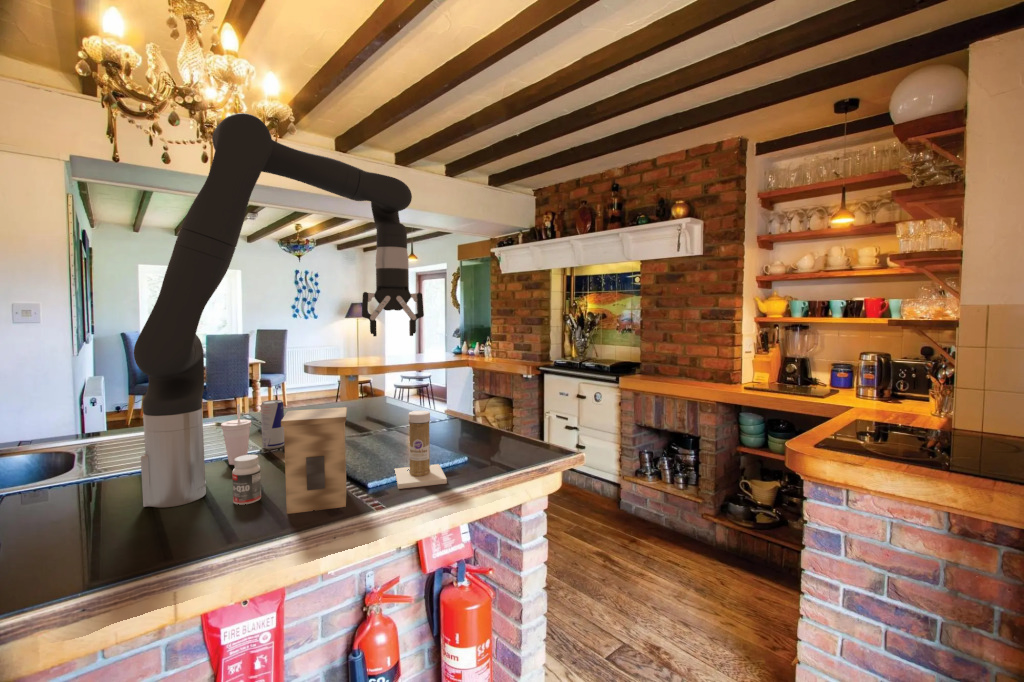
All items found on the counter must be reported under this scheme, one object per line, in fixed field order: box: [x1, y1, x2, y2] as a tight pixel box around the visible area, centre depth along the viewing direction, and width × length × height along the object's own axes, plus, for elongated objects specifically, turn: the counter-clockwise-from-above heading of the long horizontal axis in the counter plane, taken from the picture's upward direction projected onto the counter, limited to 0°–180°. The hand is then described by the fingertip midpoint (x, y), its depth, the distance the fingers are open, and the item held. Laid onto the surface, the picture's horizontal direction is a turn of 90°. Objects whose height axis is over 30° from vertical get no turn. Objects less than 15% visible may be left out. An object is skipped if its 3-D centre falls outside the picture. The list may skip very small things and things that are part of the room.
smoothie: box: [220, 403, 252, 466], centre depth 114 cm, size 6×6×14 cm
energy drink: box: [260, 399, 285, 450], centre depth 128 cm, size 5×5×12 cm
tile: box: [393, 463, 448, 490], centre depth 104 cm, size 10×10×1 cm
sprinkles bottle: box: [408, 410, 431, 476], centre depth 104 cm, size 5×5×14 cm
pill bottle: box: [231, 454, 262, 506], centre depth 92 cm, size 5×5×8 cm
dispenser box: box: [281, 406, 348, 515], centre depth 91 cm, size 11×9×17 cm
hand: (393, 336), depth 115 cm, fingers open, 8 cm apart
